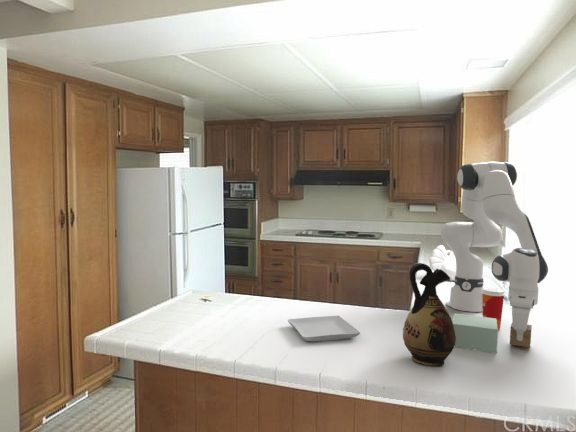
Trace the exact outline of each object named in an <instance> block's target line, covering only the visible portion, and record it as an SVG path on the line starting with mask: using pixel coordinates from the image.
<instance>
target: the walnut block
mask: <svg viewBox="0 0 576 432" xmlns="http://www.w3.org/2000/svg"><path fill="white" fill-rule="evenodd" d="M532 328H533V327H532V324H527V328H526V331H525V332H524V333H523V341H519V340H517V331H516V330H514V329H513V321H511V325H510V328H509V329H510V333H509V344H510V345H514V346H517V347H518V346H519V347H525V348H531V345H532V344H531V342H532Z"/></svg>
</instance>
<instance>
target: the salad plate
mask: <svg viewBox="0 0 576 432" xmlns="http://www.w3.org/2000/svg"><path fill="white" fill-rule="evenodd" d="M287 322H288V323H289V325H290V326H291V327H292V328H293V329H294V330H295V331H296V332H297V333H298V334H299V335H300V336H301V338H302V340H304V341H306V342H313V343H315V342H326V341H339V340H347V339H353V338H356V337H358V336H359V335H361V331H360V330H358V329H357V328H356V327H354V325H352V324H350V323H349V322H348V321H347V320H346V319H344V318H343V317H341V316H340V315H327V316H326V315H325V316H314V317H313V316H310V317H301V318H300V317H299V318H288V319H287Z"/></svg>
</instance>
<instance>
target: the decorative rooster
mask: <svg viewBox="0 0 576 432" xmlns="http://www.w3.org/2000/svg"><path fill="white" fill-rule="evenodd" d="M445 247H446V246H444V245H443V244H440V245H438V246H436V247H435V248H434V249H433V250H432V252H431V253H430V256H429V258H428V262H429V267H430V268H431V270H432V272H434V271H435V270H436V269H439V270H440V269H441V270H443V271H444V272H445V273H446V274H447V275H448V276H449V277H450V280H448V281H450V282H455V276H456V258H455V255H454V253H453V251H452V250H451V249H450V250H449V249H446V248H445ZM448 254H449V255H448Z"/></svg>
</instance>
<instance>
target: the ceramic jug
mask: <svg viewBox="0 0 576 432" xmlns="http://www.w3.org/2000/svg"><path fill="white" fill-rule="evenodd" d="M418 271H424V272H426V274H425V275H424V276H423V277H422V278H421V280H420V281H419V285H422V286H424V289H423V292H422V293H421V292H420V289H419V287H418V282H417V279H416V277H417V276H416V275H417V274H416V273H418ZM449 280H450V277H449V276H448V275H447V274H446V273H445V272H444V271H443V270H441V269H440V270H439V269H436V270H435V271H433V270H432V269H431V268H430V265H428V264H426V263H422V262H418V263H415V264H414V265H412V266H411V267H410V270H409V281H410V285H411V289H412V293H413V295H414V301H413V302H414V303H413V306H412V307H411V309H410V310H409V312H408V314H407V316H406V318H405V321H404V325H403V328H402V340H403V343H404V346H405V348H406V349H407V350H408V352H409V353H410V354H411V360H412V361H414V362H416V363H418V364H422V365H424V366H428V367H442V366H444V364H445V361H446V359H447V358H448V356H450V355H451V353H452V352H453V350H454V348H455V347H454V346H455V341H456V335H455V330H454V325H453V322H452V321H453V318H451V315H450V313H449V312H448V310H447V308H446V306H445V305H444V304H443V301H442V300H441V299H440V296H439V295H438V294H437V289H436V288H437V286H438V285H440V284H442V283H444V282H448V281H449Z"/></svg>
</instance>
